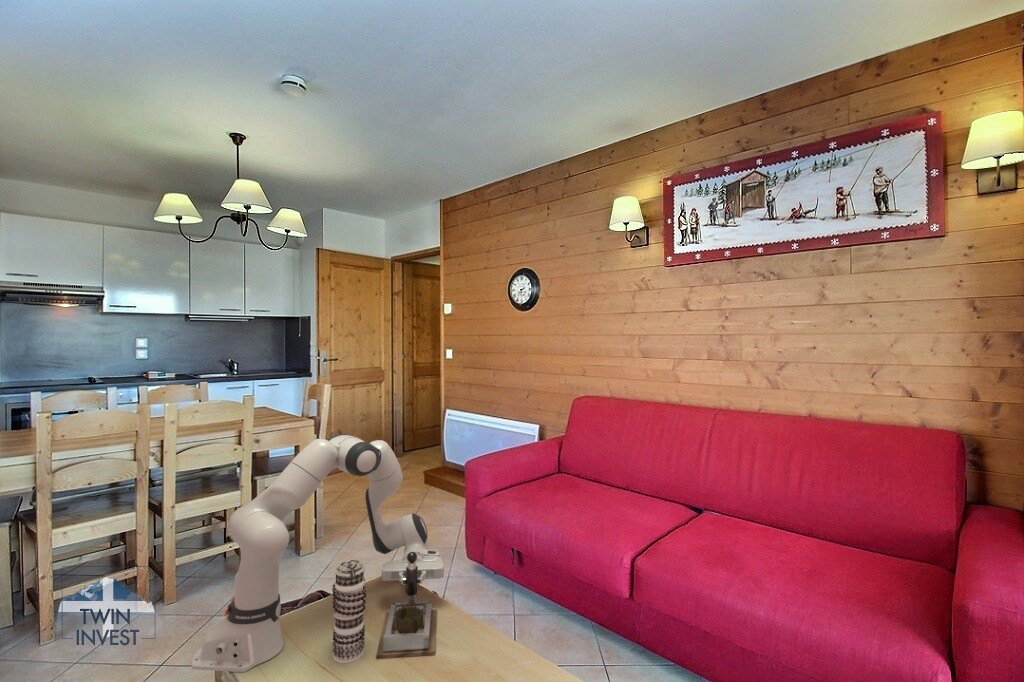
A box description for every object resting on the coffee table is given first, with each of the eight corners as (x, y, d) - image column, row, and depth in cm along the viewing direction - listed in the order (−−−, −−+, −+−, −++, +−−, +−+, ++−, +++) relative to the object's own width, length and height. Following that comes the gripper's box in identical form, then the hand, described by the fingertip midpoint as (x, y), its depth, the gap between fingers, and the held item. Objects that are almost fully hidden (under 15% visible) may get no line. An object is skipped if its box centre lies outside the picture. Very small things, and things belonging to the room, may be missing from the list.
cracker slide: (383, 651, 136) (384, 582, 136) (391, 610, 157) (392, 550, 157) (428, 648, 138) (429, 580, 138) (431, 608, 158) (432, 548, 158)
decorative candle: (328, 648, 139) (330, 560, 139) (362, 639, 143) (363, 554, 143) (333, 667, 131) (334, 574, 131) (369, 657, 135) (370, 567, 135)
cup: (415, 648, 140) (415, 620, 140) (391, 644, 141) (391, 616, 141) (424, 632, 147) (425, 606, 147) (401, 629, 149) (402, 603, 149)
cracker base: (376, 659, 135) (376, 637, 135) (386, 615, 156) (386, 596, 156) (434, 655, 137) (435, 633, 137) (436, 612, 158) (437, 594, 158)
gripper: (383, 554, 167) (378, 573, 154) (444, 551, 170) (443, 570, 156) (383, 572, 167) (377, 593, 154) (443, 569, 170) (443, 590, 156)
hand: (411, 581), depth 155 cm, fingers closed on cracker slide, 4 cm apart
